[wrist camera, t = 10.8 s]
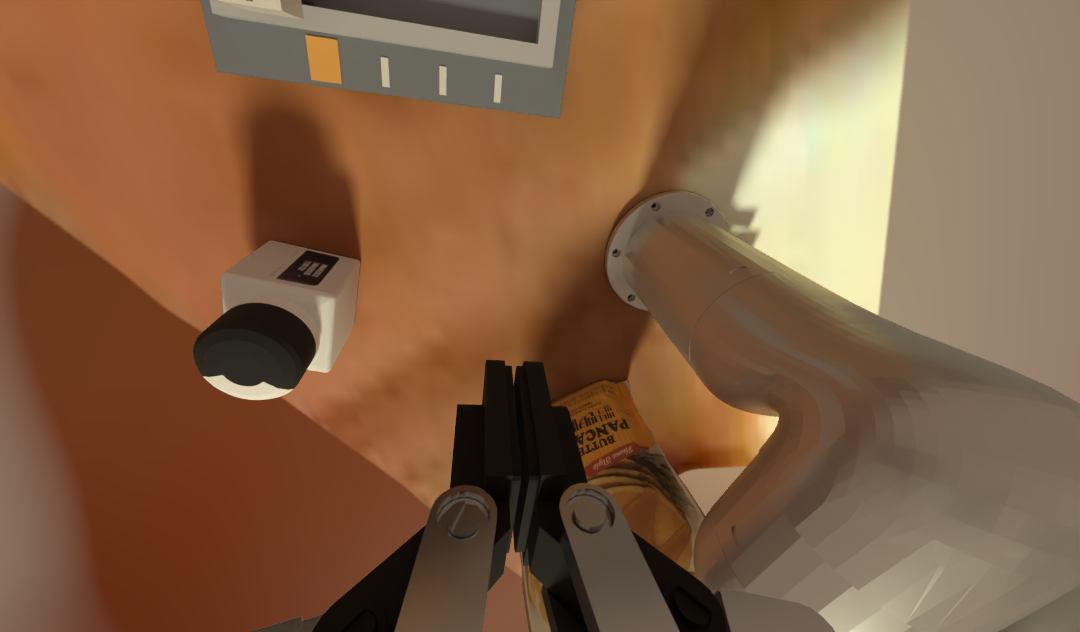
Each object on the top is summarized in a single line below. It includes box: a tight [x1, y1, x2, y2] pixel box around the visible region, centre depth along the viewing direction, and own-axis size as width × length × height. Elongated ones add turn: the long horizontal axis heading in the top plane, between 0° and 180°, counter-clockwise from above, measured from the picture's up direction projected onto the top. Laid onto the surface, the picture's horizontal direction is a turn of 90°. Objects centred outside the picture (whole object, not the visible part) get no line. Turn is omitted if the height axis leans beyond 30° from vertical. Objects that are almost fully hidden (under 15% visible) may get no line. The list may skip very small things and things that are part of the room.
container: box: [193, 241, 360, 400], centre depth 31 cm, size 8×8×13 cm
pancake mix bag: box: [520, 379, 705, 632], centre depth 38 cm, size 7×19×28 cm, turn 117°
